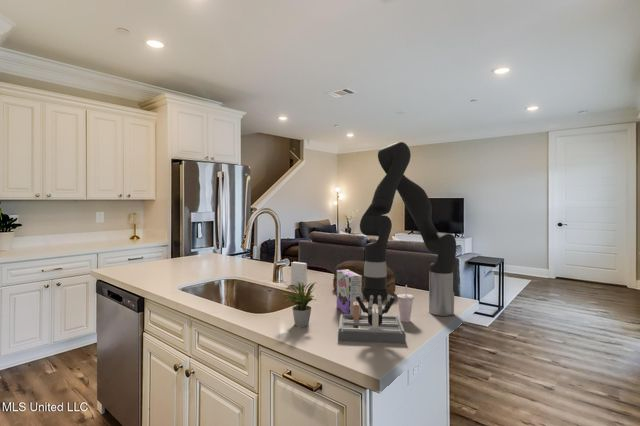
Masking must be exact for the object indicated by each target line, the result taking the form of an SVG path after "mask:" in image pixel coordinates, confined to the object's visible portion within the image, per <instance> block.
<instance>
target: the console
mask: <svg viewBox="0 0 640 426" xmlns="http://www.w3.org/2000/svg"><path fill="white" fill-rule="evenodd" d="M406 335H407V334H406V332H405V328H404V326H403V324H402V321H400V315H384V314H383V315H382V324H380V326H378V329H372V325H370V323H368V314H361V315H359V320H353V314H345V313H344V314H343V313H341V314H340V316H339V321H338V330H337V340H338V341H345V342H346V341H348V342H349V341H350V342H370V343H371V342H372V343H389V344H390V343H394V344H395V343H396V344H406V339H407V337H406Z"/></svg>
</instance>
